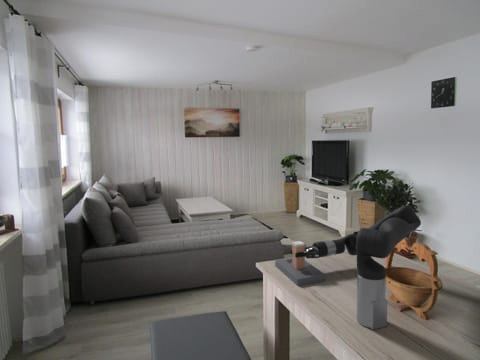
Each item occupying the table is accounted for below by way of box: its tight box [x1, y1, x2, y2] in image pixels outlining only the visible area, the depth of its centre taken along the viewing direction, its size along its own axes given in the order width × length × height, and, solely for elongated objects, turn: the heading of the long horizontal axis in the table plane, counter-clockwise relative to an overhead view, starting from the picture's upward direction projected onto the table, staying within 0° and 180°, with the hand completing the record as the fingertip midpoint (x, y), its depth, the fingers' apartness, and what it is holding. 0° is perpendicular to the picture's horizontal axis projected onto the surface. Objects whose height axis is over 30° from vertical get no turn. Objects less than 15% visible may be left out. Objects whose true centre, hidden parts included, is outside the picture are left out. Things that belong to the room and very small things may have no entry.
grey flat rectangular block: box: [274, 257, 326, 287], centre depth 156 cm, size 24×14×3 cm, turn 17°
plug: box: [291, 240, 306, 270], centre depth 155 cm, size 4×4×14 cm
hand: (293, 253), depth 154 cm, fingers closed on plug, 4 cm apart
